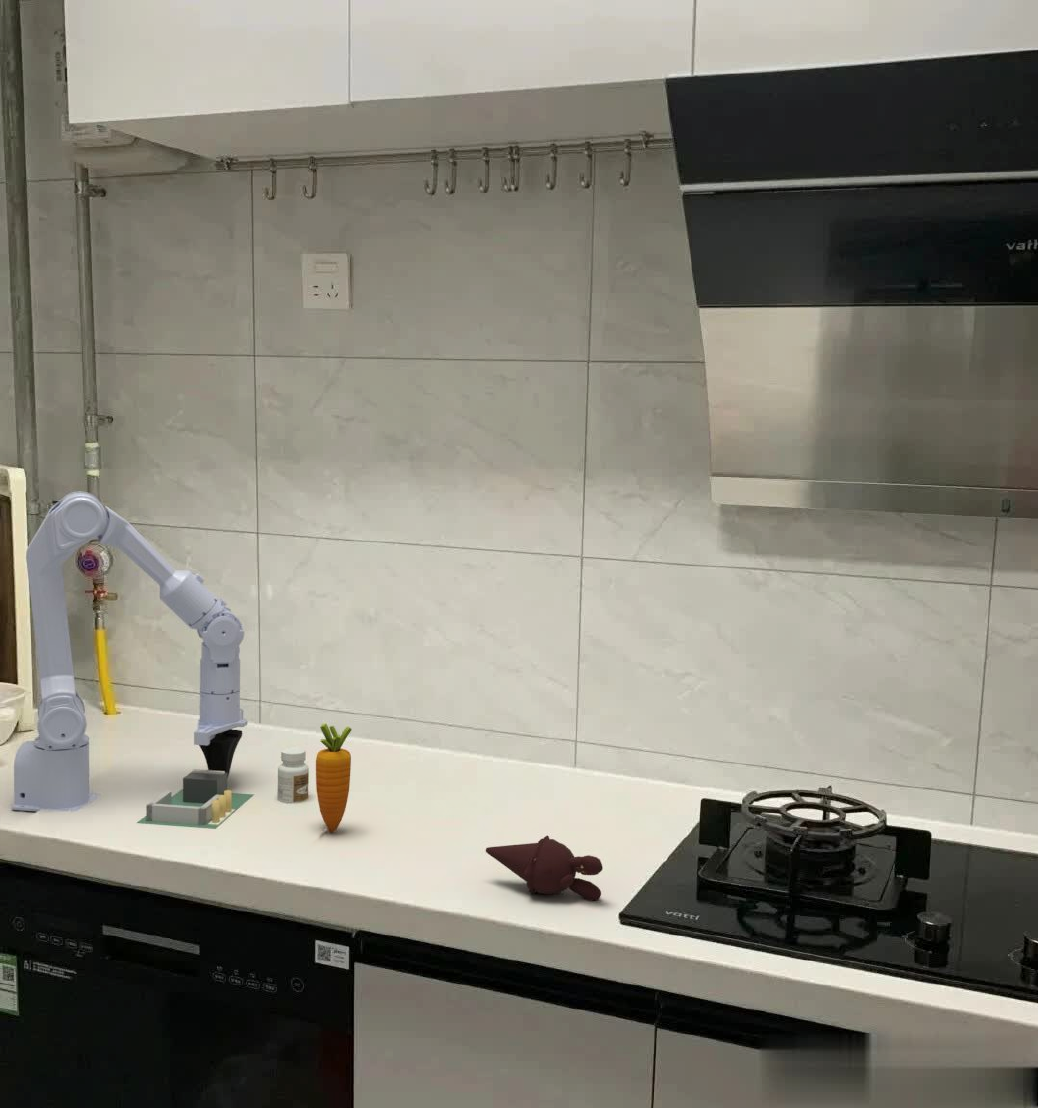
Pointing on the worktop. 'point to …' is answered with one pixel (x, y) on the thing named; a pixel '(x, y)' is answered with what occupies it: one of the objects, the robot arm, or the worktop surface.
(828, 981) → the worktop surface
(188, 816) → the header board
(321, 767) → the carrot
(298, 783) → the pill bottle
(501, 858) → the icecream
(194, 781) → the plug block
